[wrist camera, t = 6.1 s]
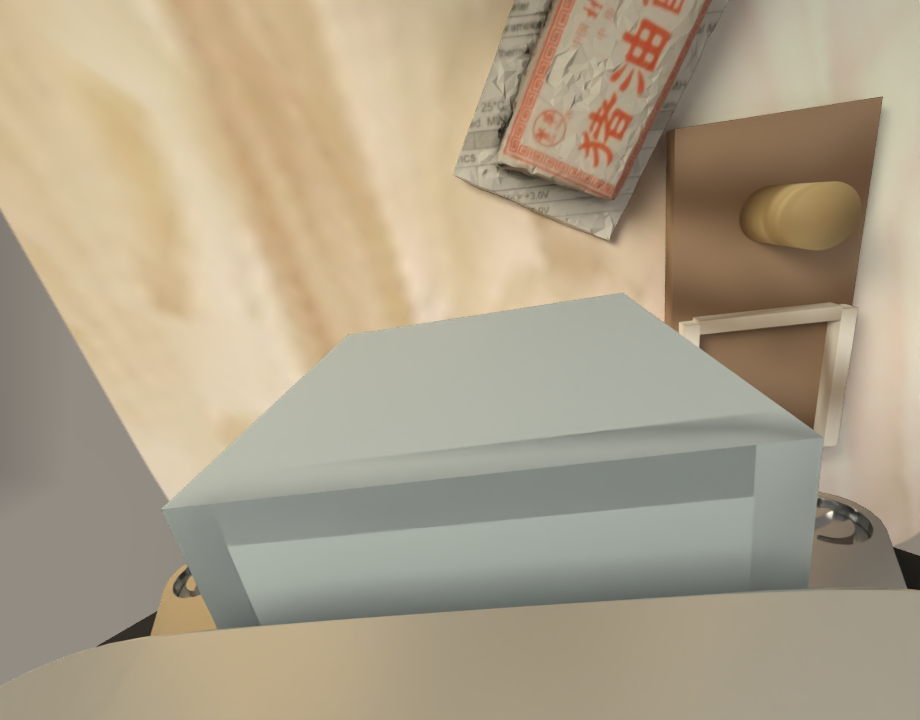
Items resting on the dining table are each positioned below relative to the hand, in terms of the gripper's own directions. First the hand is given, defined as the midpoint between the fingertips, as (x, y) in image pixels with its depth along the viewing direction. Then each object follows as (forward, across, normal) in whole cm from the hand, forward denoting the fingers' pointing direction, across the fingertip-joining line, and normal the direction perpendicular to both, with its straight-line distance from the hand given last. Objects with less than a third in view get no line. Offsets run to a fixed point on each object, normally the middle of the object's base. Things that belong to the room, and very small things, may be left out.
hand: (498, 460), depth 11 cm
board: (+18, -15, +2) cm, 24 cm away
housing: (+1, 0, 0) cm, 1 cm away
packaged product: (+19, -8, -13) cm, 24 cm away
